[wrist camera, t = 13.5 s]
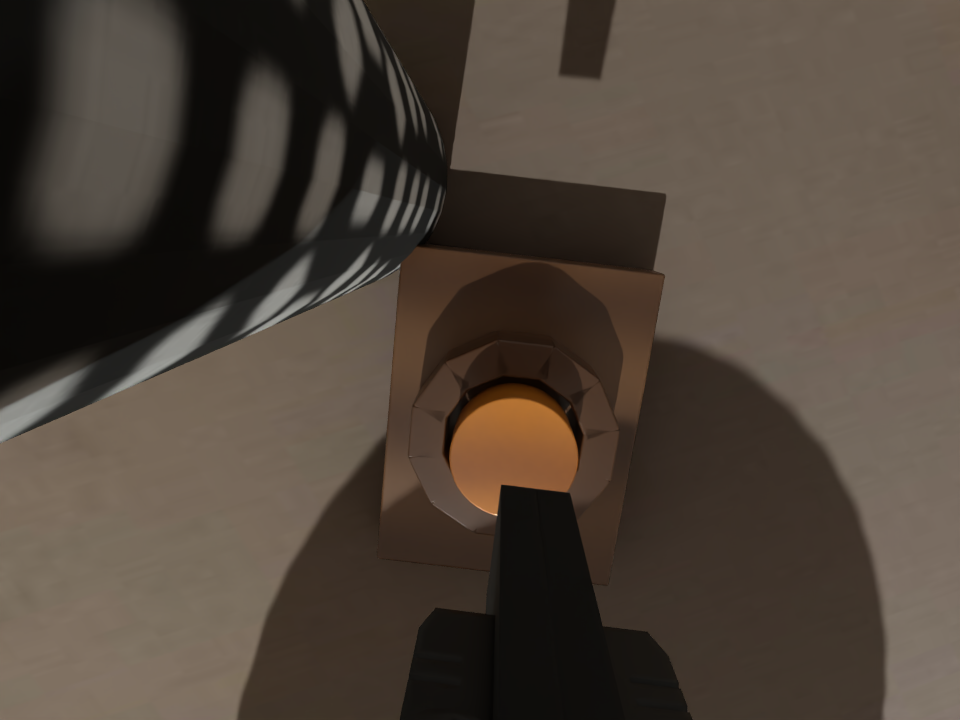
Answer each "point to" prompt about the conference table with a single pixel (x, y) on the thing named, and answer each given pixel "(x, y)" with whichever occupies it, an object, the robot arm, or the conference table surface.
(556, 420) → the button
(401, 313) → the button block
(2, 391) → the spotted tube
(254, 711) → the conference table surface
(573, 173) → the conference table surface
